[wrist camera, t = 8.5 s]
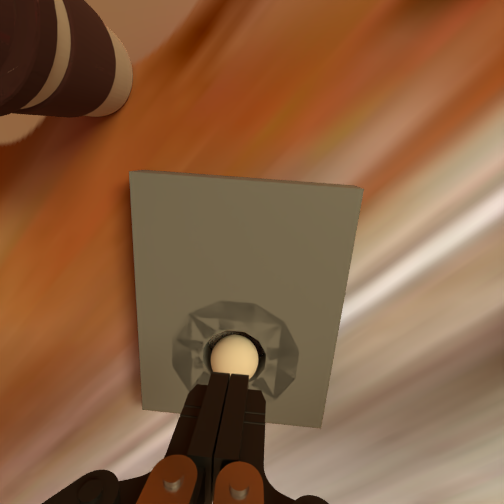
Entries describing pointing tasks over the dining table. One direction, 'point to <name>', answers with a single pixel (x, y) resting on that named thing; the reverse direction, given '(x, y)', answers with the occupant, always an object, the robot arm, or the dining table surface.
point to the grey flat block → (240, 283)
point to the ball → (235, 356)
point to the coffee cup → (60, 60)
